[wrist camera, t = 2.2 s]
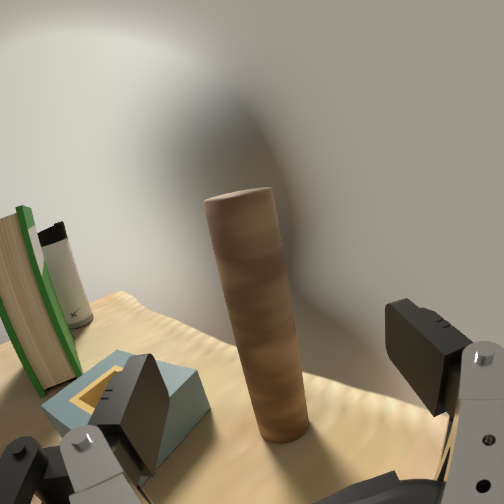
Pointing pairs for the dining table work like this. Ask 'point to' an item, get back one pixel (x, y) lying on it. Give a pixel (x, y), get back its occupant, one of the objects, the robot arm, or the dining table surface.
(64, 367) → the hardback book
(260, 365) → the peg
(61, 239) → the travel mug
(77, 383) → the socket block
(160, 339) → the dining table surface
